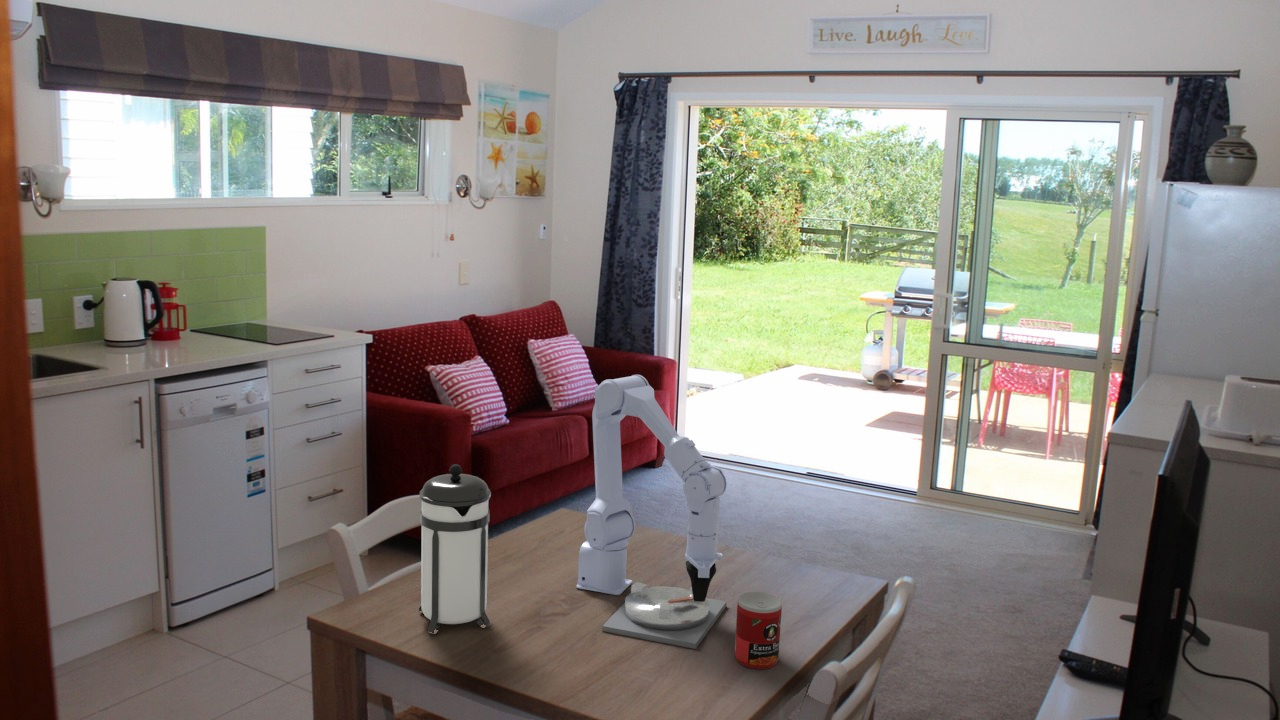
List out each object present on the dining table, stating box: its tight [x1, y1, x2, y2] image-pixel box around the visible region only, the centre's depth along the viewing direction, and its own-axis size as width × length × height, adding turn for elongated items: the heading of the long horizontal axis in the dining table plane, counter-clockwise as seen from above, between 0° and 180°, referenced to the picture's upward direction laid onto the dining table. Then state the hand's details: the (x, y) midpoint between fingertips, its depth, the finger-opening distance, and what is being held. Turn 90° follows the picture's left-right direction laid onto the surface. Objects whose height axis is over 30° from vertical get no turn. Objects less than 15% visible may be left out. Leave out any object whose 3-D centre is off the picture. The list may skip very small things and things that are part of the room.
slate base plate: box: [601, 597, 727, 650], centre depth 197 cm, size 18×21×1 cm
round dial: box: [624, 581, 709, 630], centre depth 196 cm, size 16×16×4 cm
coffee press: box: [418, 463, 492, 633], centre depth 191 cm, size 17×16×30 cm
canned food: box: [734, 591, 783, 670], centre depth 180 cm, size 8×8×11 cm
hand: (699, 600), depth 196 cm, fingers closed
